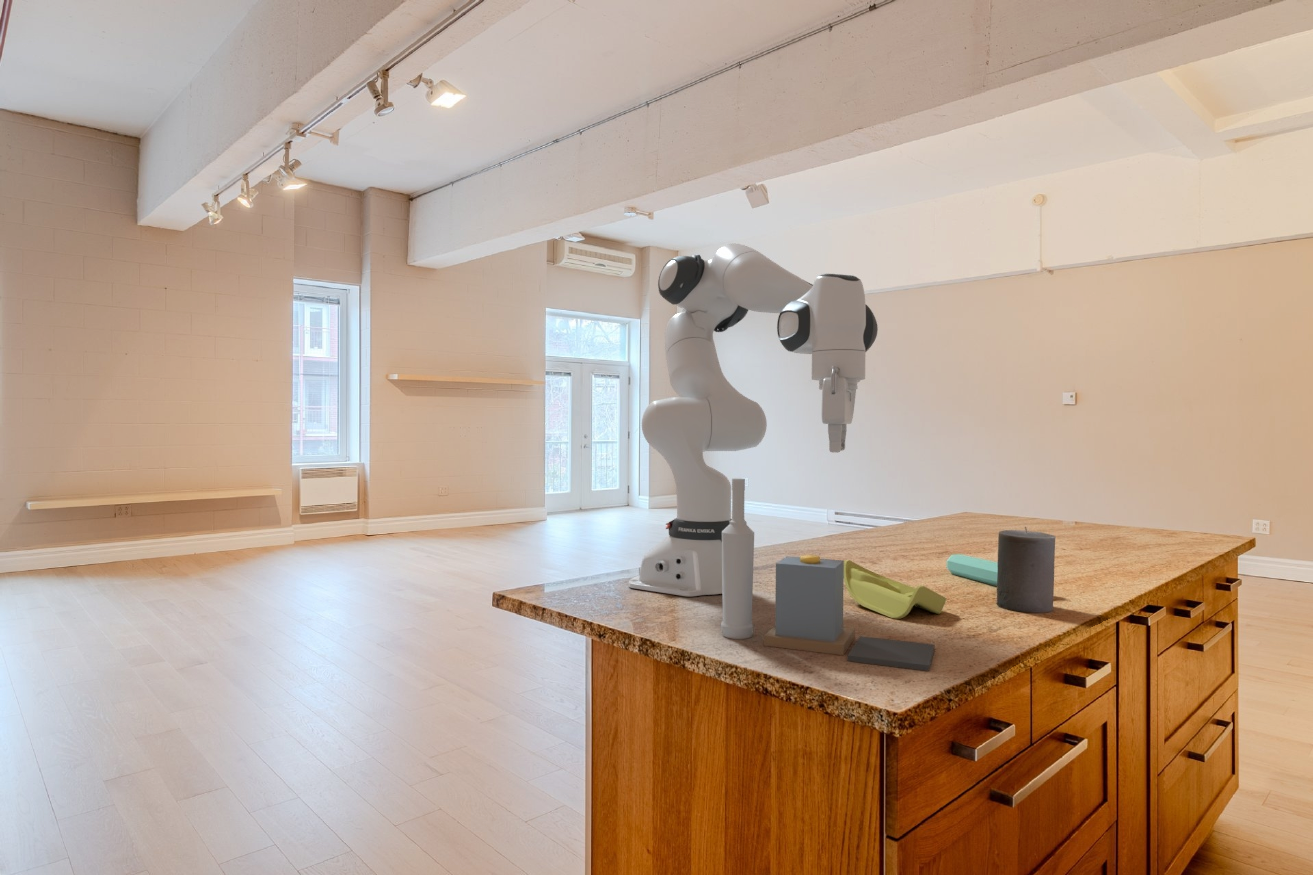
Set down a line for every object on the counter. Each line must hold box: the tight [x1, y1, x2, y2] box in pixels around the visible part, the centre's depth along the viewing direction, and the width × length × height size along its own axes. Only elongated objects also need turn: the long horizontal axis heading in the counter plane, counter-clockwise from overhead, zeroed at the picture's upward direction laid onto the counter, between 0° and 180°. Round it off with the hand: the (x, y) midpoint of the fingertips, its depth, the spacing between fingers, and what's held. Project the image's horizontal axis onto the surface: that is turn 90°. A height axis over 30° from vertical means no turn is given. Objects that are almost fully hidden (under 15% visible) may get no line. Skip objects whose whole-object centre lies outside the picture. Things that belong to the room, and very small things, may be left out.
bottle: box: [720, 477, 755, 640], centre depth 124 cm, size 5×5×25 cm
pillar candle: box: [995, 526, 1056, 614], centre depth 145 cm, size 10×10×15 cm
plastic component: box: [844, 559, 947, 620], centre depth 146 cm, size 20×7×10 cm
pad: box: [847, 635, 936, 672], centre depth 114 cm, size 11×11×1 cm
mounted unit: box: [763, 554, 856, 656], centre depth 121 cm, size 12×10×13 cm
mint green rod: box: [946, 553, 998, 587], centre depth 167 cm, size 6×6×25 cm
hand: (837, 451), depth 132 cm, fingers open, 8 cm apart
